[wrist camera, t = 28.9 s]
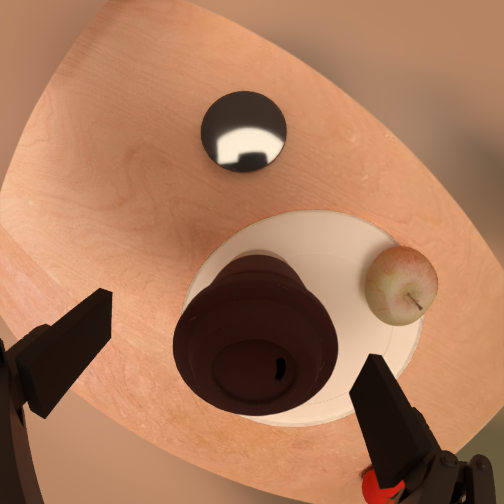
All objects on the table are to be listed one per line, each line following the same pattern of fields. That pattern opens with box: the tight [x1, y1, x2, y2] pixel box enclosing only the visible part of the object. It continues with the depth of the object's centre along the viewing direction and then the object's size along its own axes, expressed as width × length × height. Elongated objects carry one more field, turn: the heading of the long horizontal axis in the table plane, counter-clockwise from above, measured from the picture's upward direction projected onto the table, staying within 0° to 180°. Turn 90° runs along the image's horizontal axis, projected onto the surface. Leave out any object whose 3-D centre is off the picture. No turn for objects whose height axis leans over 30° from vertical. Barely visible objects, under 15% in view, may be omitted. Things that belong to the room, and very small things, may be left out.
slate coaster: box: [201, 91, 287, 172], centre depth 26 cm, size 8×8×1 cm
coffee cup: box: [173, 249, 338, 416], centre depth 22 cm, size 10×10×15 cm
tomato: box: [362, 468, 405, 504], centre depth 33 cm, size 11×12×9 cm
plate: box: [181, 210, 424, 427], centre depth 30 cm, size 28×28×1 cm
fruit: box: [365, 246, 438, 326], centre depth 25 cm, size 8×7×8 cm
